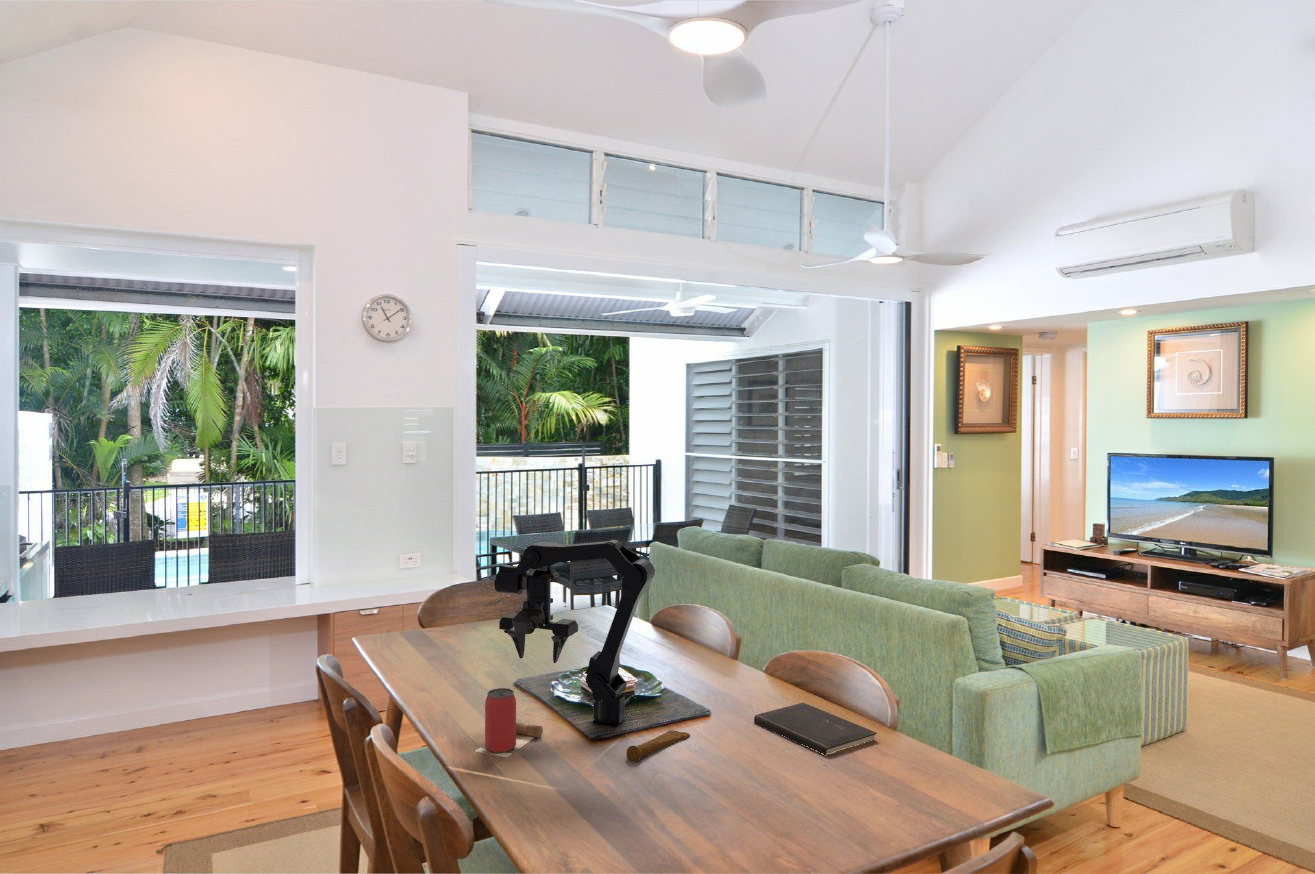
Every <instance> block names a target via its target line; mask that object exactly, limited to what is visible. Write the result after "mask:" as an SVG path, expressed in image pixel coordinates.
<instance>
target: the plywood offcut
mask: <svg viewBox="0 0 1315 874" xmlns="http://www.w3.org/2000/svg"><path fill="white" fill-rule="evenodd" d="M535 738H536V737H533V736H527V735H521V734H516V746H515V747H514V748H513V749H512V750H510V751H508V752H503V753H494V752H490V751H488V750H487V749H486V748H485V744H483V745H482V746H480V747H479V748H477V749H476V750H474V752H476V753H480V754H485V755H492V756H497V757H502V758H509V757H510V756H512V755H513V754H514V753H515V752H517V751H519V750H520V749H521V748H522V747H524V746H526V745H527V744H528V743H529V742H531V741H533V740H534V739H535Z"/></svg>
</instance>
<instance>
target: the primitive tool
mask: <svg viewBox="0 0 1315 874" xmlns="http://www.w3.org/2000/svg"><path fill="white" fill-rule="evenodd" d="M690 737H691V734H690V733H688V732H684V731H677V730H674V729H671V730H667V731H666V732H664V733H663V734H660V735H658V736H656V737H655V738H652V739H649V740H648V741H646V742H642V743H641V744H638V745H630V746H628V748H626V754H625V755H626V758H627V760H628V761H630V762H632V763H633V762H634V763H638V762H639V761H640V760H641V758H643V757H645V756H647V755H651V754H652V753H655V752H656V751H657V752H658V751H660V750H661V749H664V748H666V747H668V746H672V745H673V744H675V743H678V742H680V741H683V740H687V739H689V738H690Z"/></svg>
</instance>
